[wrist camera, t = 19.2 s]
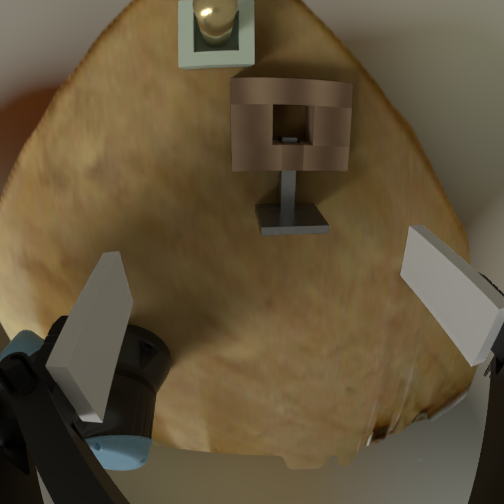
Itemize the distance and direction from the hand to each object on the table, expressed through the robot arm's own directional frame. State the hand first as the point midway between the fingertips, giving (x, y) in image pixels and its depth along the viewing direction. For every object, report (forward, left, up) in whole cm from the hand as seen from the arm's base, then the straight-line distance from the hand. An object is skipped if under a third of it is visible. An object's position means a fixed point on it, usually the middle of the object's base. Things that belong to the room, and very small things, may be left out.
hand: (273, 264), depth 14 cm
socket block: (+6, +3, -29) cm, 30 cm away
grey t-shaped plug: (+6, -4, -29) cm, 29 cm away
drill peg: (-3, +14, -28) cm, 31 cm away
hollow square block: (-3, +14, -29) cm, 32 cm away
